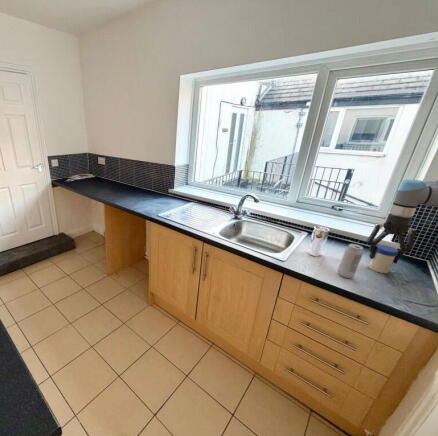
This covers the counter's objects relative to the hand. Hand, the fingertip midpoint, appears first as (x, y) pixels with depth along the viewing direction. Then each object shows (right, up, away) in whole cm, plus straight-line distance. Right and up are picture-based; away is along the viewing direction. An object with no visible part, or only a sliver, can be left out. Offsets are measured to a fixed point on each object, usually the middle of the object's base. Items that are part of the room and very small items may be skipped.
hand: (382, 259), depth 115 cm
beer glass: (-22, +1, +16) cm, 27 cm away
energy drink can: (-21, -7, -3) cm, 22 cm away
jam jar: (0, -5, +2) cm, 5 cm away
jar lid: (0, +5, -2) cm, 6 cm away
